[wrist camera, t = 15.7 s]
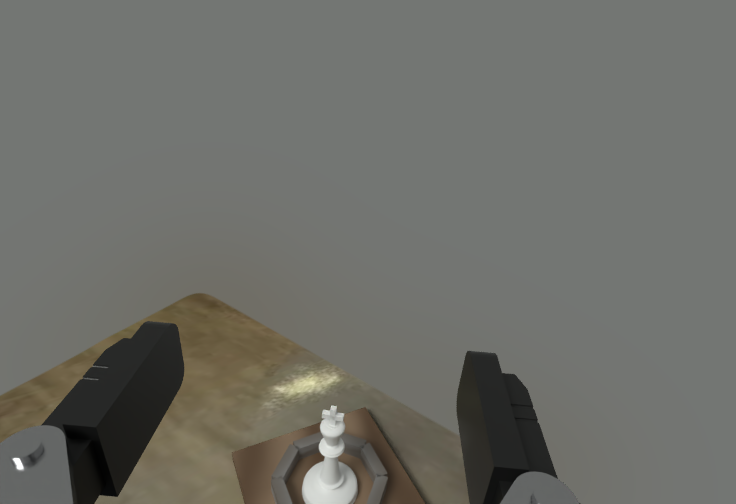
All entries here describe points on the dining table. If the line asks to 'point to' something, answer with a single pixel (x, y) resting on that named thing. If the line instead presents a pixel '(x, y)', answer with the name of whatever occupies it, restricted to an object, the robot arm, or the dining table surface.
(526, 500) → the robot arm
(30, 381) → the dining table surface
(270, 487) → the board
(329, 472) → the chess piece
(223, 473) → the dining table surface
